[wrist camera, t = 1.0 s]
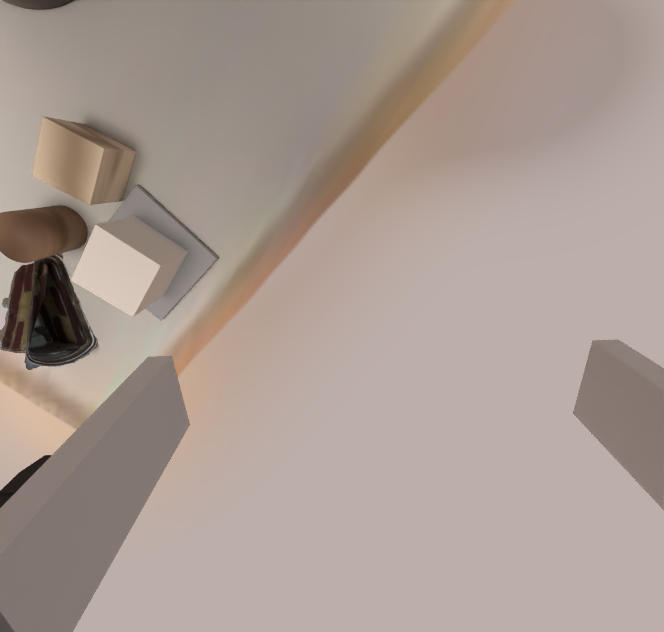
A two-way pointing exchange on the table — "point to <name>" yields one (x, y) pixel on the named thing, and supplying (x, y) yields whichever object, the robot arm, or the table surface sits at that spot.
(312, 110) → the table surface
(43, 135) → the beech cube
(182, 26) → the table surface
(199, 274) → the mat
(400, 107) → the table surface
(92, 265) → the plain block
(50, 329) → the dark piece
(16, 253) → the walnut cylinder
